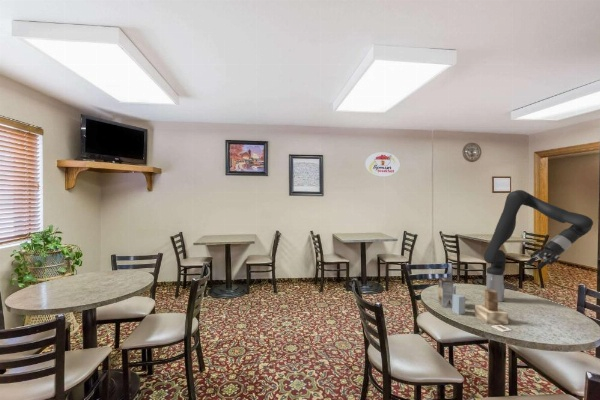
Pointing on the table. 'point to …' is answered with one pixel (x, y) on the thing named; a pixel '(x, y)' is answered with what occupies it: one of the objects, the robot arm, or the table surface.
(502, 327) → the tile
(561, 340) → the table surface
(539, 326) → the table surface
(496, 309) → the walnut block
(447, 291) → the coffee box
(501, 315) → the birch block
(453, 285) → the medicine box
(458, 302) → the slate block
